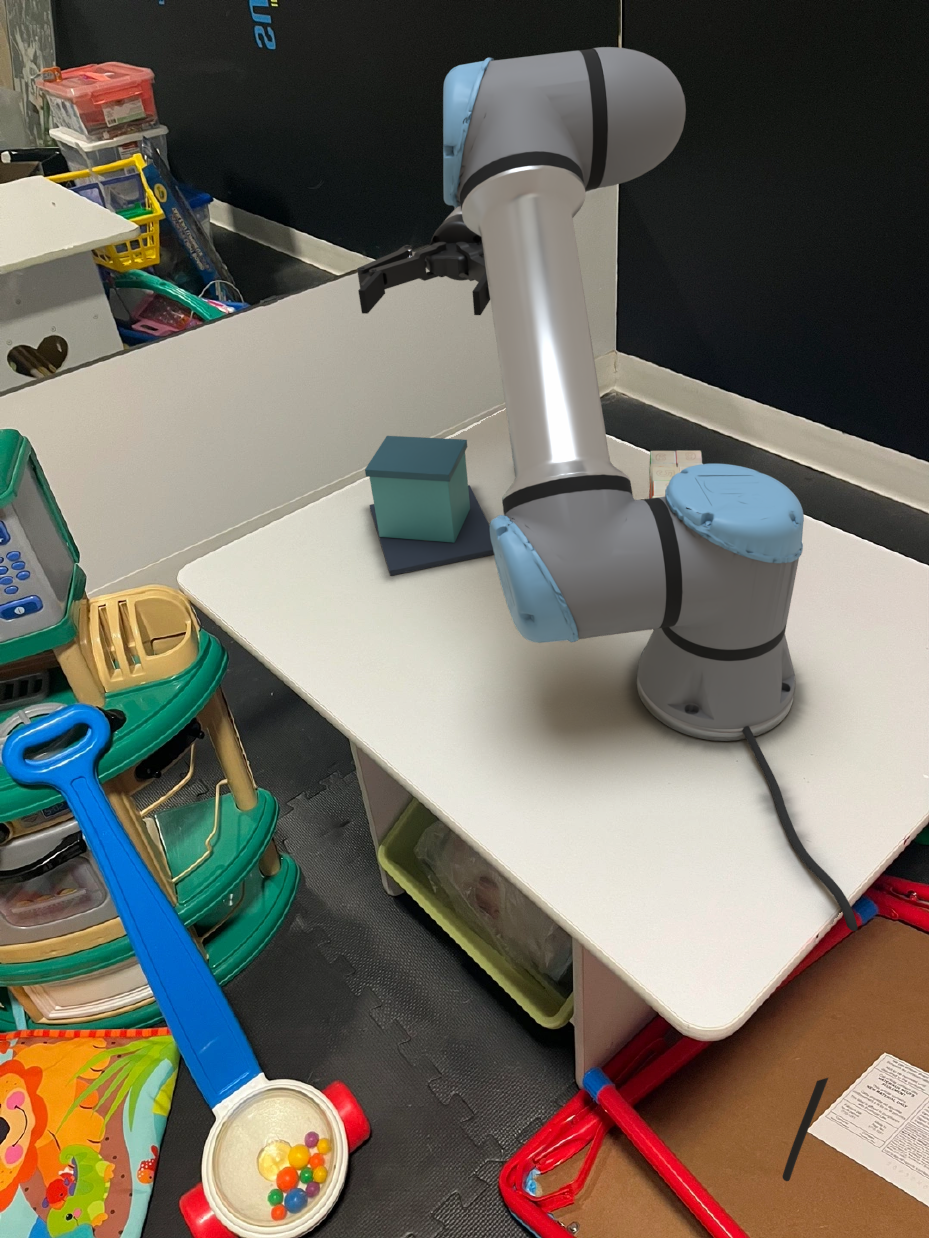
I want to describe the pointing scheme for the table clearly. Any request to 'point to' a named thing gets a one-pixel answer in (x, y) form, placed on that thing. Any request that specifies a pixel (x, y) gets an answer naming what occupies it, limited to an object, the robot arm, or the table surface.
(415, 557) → the mat
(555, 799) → the table surface
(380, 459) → the teal box
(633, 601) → the robot arm
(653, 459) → the stack of blocks
